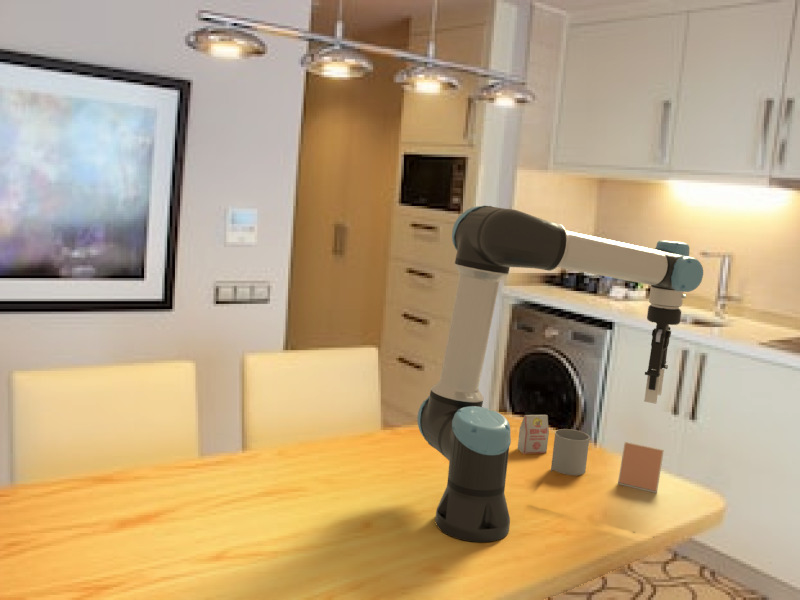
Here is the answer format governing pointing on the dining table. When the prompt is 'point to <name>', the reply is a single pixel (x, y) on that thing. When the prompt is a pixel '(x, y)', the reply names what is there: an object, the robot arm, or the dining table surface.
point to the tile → (640, 467)
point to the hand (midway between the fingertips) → (652, 397)
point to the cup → (570, 452)
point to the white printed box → (533, 434)
